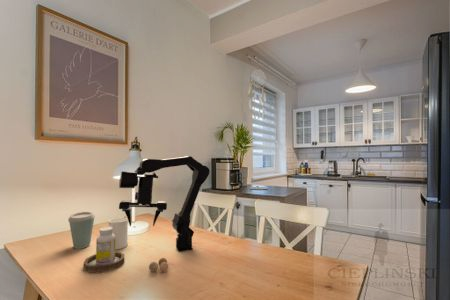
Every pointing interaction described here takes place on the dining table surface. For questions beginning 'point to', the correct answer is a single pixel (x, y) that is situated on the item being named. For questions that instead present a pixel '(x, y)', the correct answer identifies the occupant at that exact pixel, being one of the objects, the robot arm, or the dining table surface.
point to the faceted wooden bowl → (94, 268)
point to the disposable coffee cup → (81, 228)
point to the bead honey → (162, 261)
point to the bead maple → (153, 266)
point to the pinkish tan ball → (163, 267)
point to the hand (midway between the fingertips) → (142, 225)
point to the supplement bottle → (105, 246)
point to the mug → (119, 231)
